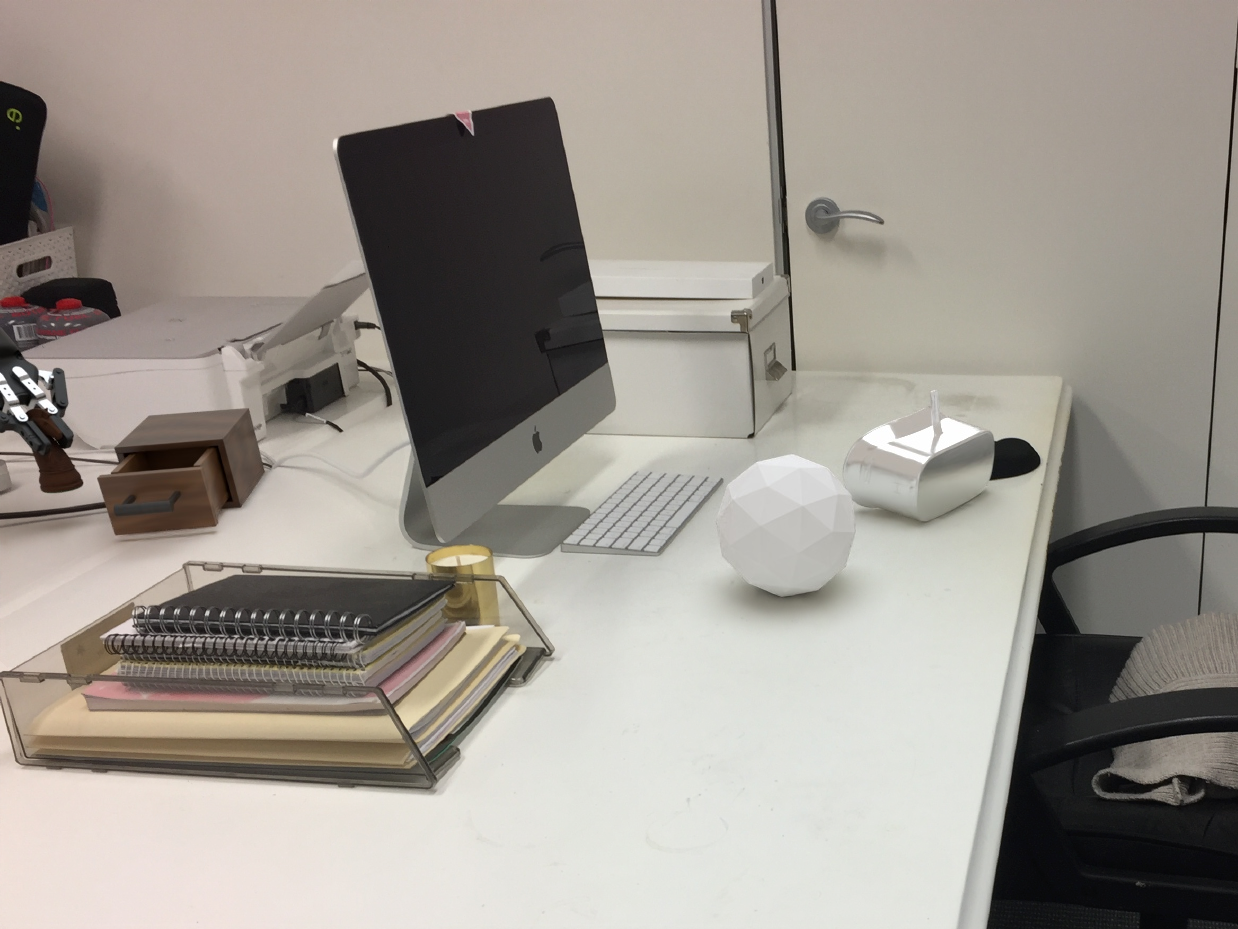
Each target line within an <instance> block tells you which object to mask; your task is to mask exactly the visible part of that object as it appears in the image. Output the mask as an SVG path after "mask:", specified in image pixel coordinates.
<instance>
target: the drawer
mask: <svg viewBox="0 0 1238 929" xmlns="http://www.w3.org/2000/svg"><path fill="white" fill-rule="evenodd" d="M96 480H97V482H98V485H99V489H100V492H101V495H102V499H103V502H104V505H105V508H106V511H107V514H108V518H109V521H110V523H111V526H112V530H113V533H114V535H115V536H126V535H127V536H128V535H137V534H148V533H149V534H150V533H158V532H159V533H160V532H170V531H180V530H181V531H182V530H191V529H203V528H212V527H213V528H214V527H218V525H219V521H218V516H217V515H218V513H219V512H220V511H221V510H222V509H221V508H222V506H223V505H224V504H225V502H226V501H227V499H228V498H229V497H230V495H231V493H230V489H229V485H228V481H227V478H226V474H225V470H224V467H223V463H222V459H221V455H220V452H219V448H218V445H217V446H205V447H193V448H180V449H168V450H155V451H143V452H131V453H130V454H129V455H128V456H127V457H126V458H125V459H124V460H123V461H122V462H121V463H120V464H119V463H118V465H117V466H115V467H114V468H113V469H112V471H111V472H110V473H108V474H107V473H106V474H100V475H98V477H96Z"/></svg>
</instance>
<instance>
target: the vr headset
mask: <svg viewBox="0 0 1238 929" xmlns="http://www.w3.org/2000/svg"><path fill="white" fill-rule="evenodd" d="M929 396H930V405H928V406H926V407H924V408H921V409H919V410H917V411H915V412H913V413H911V414H909V415H906V416H903V417H900V418H897V419H894V420H891V421H888V422H886V423H884V424H881V425H879V426H877V427H875V428H873V429H871V430H869V431H868V432H866V433H865V434H863V435H862V436H861V437H858V439H857V440H856V441H855V442H854V443H853V444H852V446H851V447H850V448H849V450H848V452H847V454H846V456H845V459H844V462H843V467H842V480H843V481H842V482H843V484H844V485H843V486H844V487H845V488H846V490H847V491H848V492H849V493H850V494H851V495H852V502H854V503H855V504H856V505H859V506H861V507H864V508H868V509H880V510H883V511H886V512H890V513H893V514H897V515H900V516H902V517H906V518H909V519H913V520H916V521H919V522H923V523H924V522H928V521H929V522H930V521H932V520H934V519H937V518H939V517H941V516H943V515H946V514H947V513H949V512H950V511H952V510H955V509H956V508H958V507H960V506H962V505H964V504H965V503H967V502H969V501H970V500H972V499H974V498H976V497H977V496H979V495H980V494H981V493H982V492H983V491H984V490H985V489H986V487H987V486H988V485H989V482H990V479H991V477H992V472H993V467H994V460H995V437H994V434H993V433H992V431H991V430H990V429H987V428H984V427H981V426H978V425H975V424H972V423H969V422H966V421H963V420H959V419H957V418H954V417H952V416H949V415H946V414H944V413H943V412H941V411H940V402H939V391H938V390H931V391H930V392H929Z"/></svg>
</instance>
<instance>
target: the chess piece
mask: <svg viewBox="0 0 1238 929" xmlns="http://www.w3.org/2000/svg"><path fill="white" fill-rule="evenodd" d="M25 413H26V415H27V416H28V421H33V422H34V423H35V424H36V426H37V427H38V428H39V429H40V430H41V431H42V433H43V434H44V435H45V436H46V437H47V439H48V440H49V441H50V442H51V445H52V447H51V450H50V452H49V454H45V455H41V454H40V453H39V452H35V451H34V450H32V449H31V452H32V456H33V458H34V459H35V463H36V465H37V467H38V469H39V470H38V473H39V477H38V483H39V488H40V491H41V492H42V493H45V494H61V493H66V492H67V493H68V492H72V491H75V490H78V489H80V488H82V487H83V486H84V479H82V475H81V473H80V472H79V471H78V470H77V469H76V465H75V464H74V463H73V461H72V459H71V458H70V457H69V455H68V453H67V452H66V451H65V449H63V448H62V447H61V446H60V445H59V443H58V442H57V441H56V440H60V439H61V438H62V436H63V435H62V431H60V430H59V429H58V427H57V426H56V425H55V424H54V422H53V420H52V418H51V417H50V415H51V413H49V412H48V408H45V409H41V408H34V409H31V410H28V411H27V410H26V411H25ZM55 439H56V440H55Z"/></svg>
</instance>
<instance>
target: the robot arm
mask: <svg viewBox="0 0 1238 929" xmlns="http://www.w3.org/2000/svg"><path fill="white" fill-rule="evenodd" d="M66 381H67V380H66V373H65V370H64V369H62V368H60V367H54V368H53V369H52V371H51V370H44V369H39V368H38V367H37V366H36V365H35V364H33V363H32V362H30V361H29V360H27V359H25V357H24V356H23V353H22V352H21V350H20V348H19V347H18V346H17V344H16V343H15V342H14V341H13V340H12V338H11V337H10V336H9V335H8V334H7V333H6V331H5V330H4V328H2V327H1V326H0V434H4V433H6V432H7V431H8V432H14V433H16V434H18V435H19V437H21V438H22V440H23V441H24V442H25V444H27V446H28V447H29V448H30V449H31V451H32V450H34V451H35V452H39V453H40V454H41V455H45V454H49V452H50V450H51V447H52V445H51V442H50V441H49V440H48V439H47V437H46V436H45V435H44V434H43V433H42V431H41V430H40V429H39V428H38V427H37V426H36V424H35V423H34V422H33V421H28V416H27V415H26V412H27V411H28V410H31V409H34V408H41V409H45V408H48V412H49V413H51V415H50V417H51V418H52V420H53V422H54V424H55V425H56V426H57V427H58V429H59V430H60V431H62V435H63V436H62V438H61V439H60V440H56V439H55V440H56V441H57V442H58V444H59V445H60V446H61V447H62V448H63V450H66V449H71V447H72V445H73V442H74V437H75V433H74V431H73V430H72V429H71V428H70V426H69V425H68V424H67V423H66V422H65V421H64V419H63V418H64V417H65V416H66V411H67V408H68V406H69V397H68V390H67V389H68V388H67V382H66ZM39 382H41V383H42V384H43V386H44V387H45V390H46V391H49V393H50V400H49V399H48V397H47V395H46V392H45V391H43V389H42V388H41V387H40V386H39ZM22 407H23V408H24V409H25V410H26V411H25V410H24V409H23V408H22Z"/></svg>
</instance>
